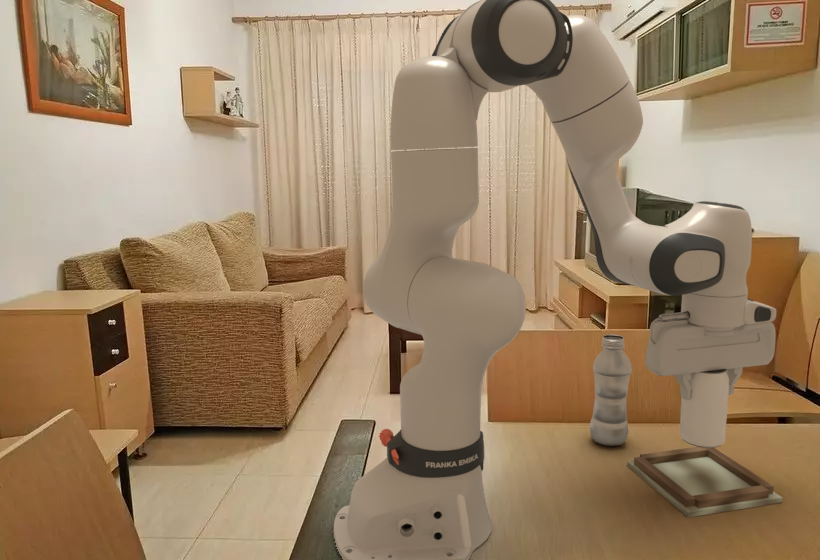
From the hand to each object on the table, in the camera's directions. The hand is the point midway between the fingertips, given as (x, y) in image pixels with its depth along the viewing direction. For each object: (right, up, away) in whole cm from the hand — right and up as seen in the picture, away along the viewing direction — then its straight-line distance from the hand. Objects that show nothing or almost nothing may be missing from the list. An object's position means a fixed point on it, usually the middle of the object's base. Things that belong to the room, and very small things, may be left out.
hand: (706, 395), depth 97 cm
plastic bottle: (-10, -12, +17) cm, 23 cm away
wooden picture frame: (0, -14, +3) cm, 15 cm away
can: (0, -7, +1) cm, 8 cm away
